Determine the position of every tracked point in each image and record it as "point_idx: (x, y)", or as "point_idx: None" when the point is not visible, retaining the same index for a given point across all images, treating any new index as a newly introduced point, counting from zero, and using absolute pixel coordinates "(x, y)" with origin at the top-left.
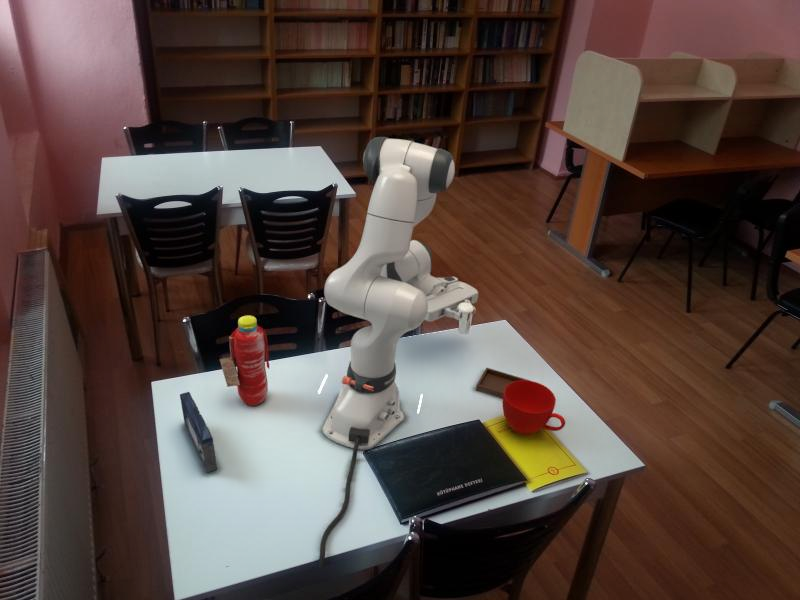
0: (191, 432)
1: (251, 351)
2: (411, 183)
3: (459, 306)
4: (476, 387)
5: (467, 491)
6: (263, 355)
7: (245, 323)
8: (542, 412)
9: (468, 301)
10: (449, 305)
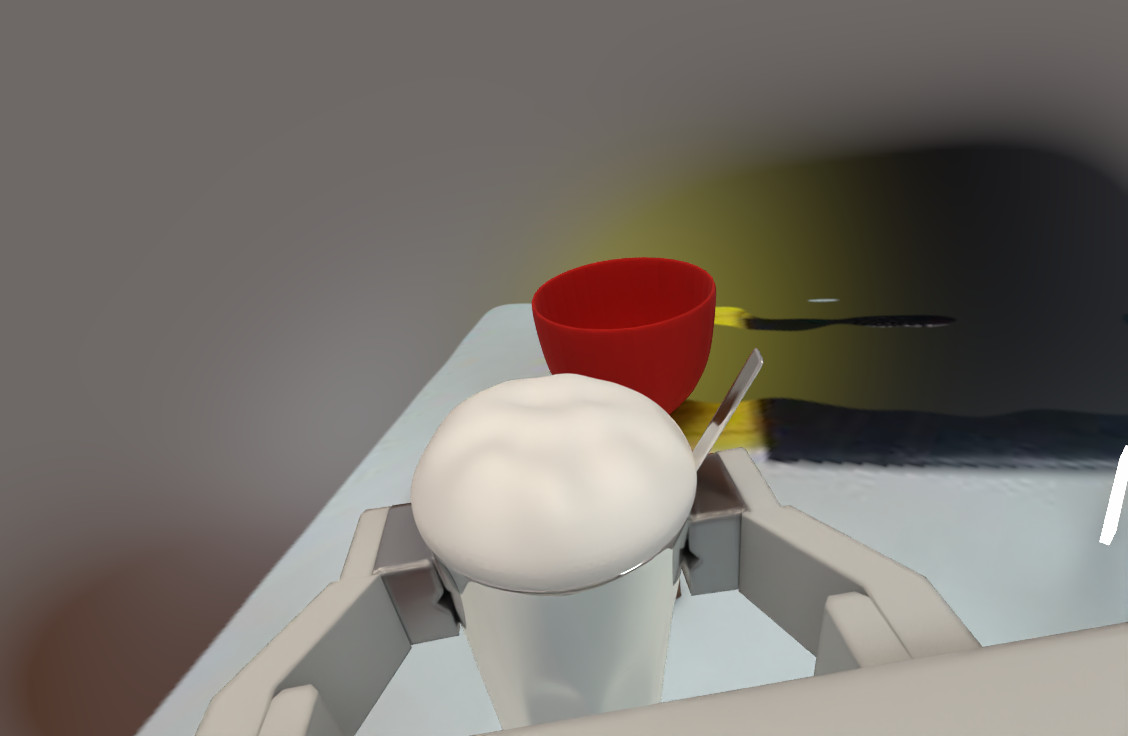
0: None
1: None
2: None
3: (657, 467)
4: (679, 584)
5: (918, 317)
6: None
7: None
8: (638, 258)
9: (254, 691)
10: (824, 674)
